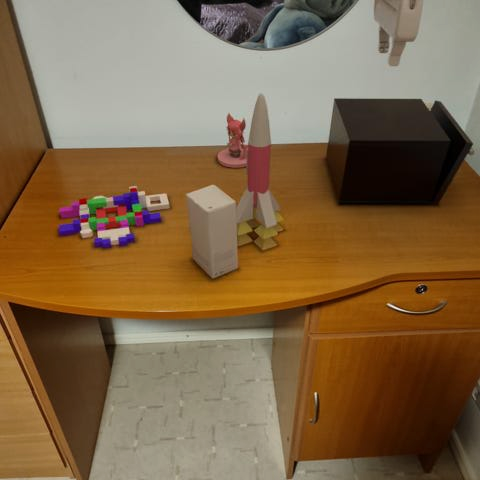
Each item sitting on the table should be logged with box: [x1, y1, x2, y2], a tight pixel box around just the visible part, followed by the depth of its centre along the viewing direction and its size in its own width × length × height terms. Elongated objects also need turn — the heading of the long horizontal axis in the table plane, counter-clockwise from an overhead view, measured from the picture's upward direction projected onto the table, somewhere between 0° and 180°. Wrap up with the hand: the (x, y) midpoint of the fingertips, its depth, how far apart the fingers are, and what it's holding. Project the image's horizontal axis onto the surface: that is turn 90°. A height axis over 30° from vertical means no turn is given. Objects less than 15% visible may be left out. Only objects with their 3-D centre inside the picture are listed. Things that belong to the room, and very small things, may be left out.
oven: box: [325, 97, 451, 206], centre depth 118 cm, size 22×24×16 cm
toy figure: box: [217, 113, 248, 169], centre depth 128 cm, size 10×10×12 cm
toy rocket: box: [236, 92, 285, 251], centre depth 96 cm, size 12×12×30 cm
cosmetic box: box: [185, 184, 239, 279], centre depth 94 cm, size 8×7×16 cm
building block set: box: [58, 185, 171, 249], centre depth 109 cm, size 25×20×4 cm
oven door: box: [430, 99, 475, 206], centre depth 119 cm, size 5×24×16 cm, turn 0°
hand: (387, 58), depth 90 cm, fingers open, 8 cm apart
